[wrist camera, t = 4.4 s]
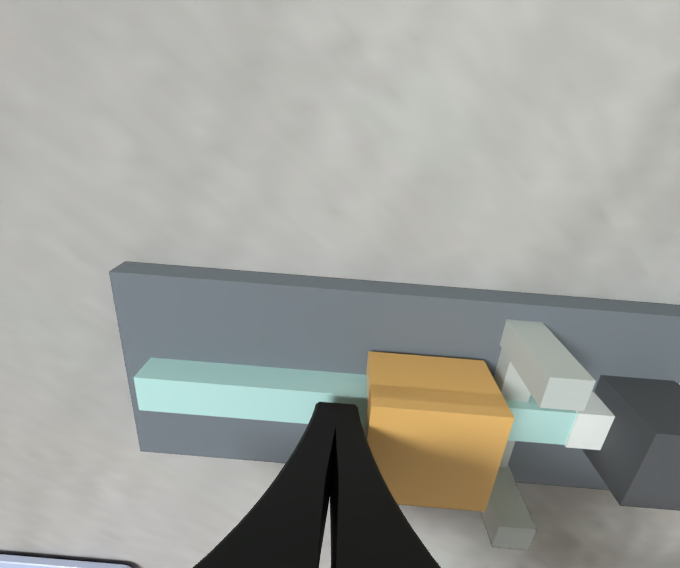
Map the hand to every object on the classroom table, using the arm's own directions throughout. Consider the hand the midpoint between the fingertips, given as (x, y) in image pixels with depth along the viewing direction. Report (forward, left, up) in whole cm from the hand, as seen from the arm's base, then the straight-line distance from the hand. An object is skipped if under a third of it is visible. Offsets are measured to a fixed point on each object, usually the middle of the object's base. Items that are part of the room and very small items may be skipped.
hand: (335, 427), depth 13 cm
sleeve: (0, -3, -2) cm, 3 cm away
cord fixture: (0, -2, -3) cm, 4 cm away
